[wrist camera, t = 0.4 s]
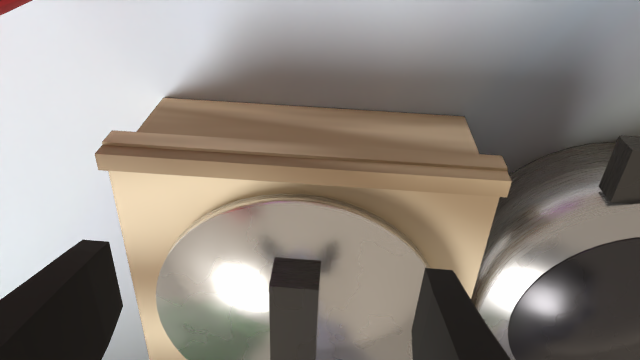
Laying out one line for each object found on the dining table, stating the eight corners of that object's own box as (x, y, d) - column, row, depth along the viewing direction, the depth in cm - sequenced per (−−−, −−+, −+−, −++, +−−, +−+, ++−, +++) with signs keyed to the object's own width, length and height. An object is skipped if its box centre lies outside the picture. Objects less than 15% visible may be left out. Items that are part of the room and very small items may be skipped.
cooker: (642, 361, 27) (688, 443, 23) (434, 345, 27) (446, 424, 24) (791, 110, 19) (898, 173, 15) (496, 92, 20) (529, 150, 16)
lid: (416, 401, 22) (421, 445, 21) (177, 382, 23) (163, 424, 21) (463, 204, 17) (474, 244, 15) (141, 183, 17) (118, 219, 15)
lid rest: (427, 335, 27) (440, 427, 23) (184, 317, 27) (152, 403, 23) (479, 107, 20) (512, 178, 16) (149, 87, 20) (93, 151, 16)
